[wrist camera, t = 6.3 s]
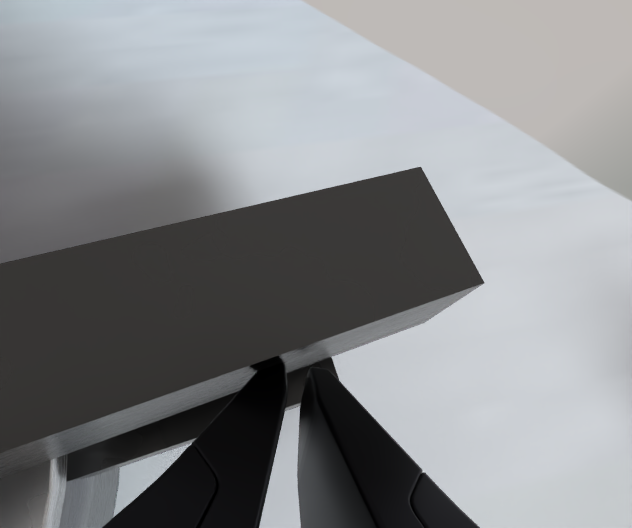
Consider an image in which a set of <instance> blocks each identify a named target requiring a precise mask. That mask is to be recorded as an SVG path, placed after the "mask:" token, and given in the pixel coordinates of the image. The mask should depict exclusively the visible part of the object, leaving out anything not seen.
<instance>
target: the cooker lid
mask: <svg viewBox="0 0 632 528" xmlns="http://www.w3.org/2000/svg"><path fill="white" fill-rule="evenodd" d="M482 284H484V281H483V279H482V278H481V276H480V274H479V272H478V270H477V268H476V267H475V265H474V263H473V261H472V259H471V257H470V256H469V254H468V252H467V250H466V248H465V247H464V245H463V243H462V241H461V239H460V237H459V236H458V234H457V232H456V230H455V228H454V226H453V225H452V223H451V221H450V219H449V217H448V216H447V214H446V212H445V210H444V208H443V206H442V205H441V203H440V201H439V199H438V197H437V195H436V194H435V192H434V190H433V188H432V186H431V185H430V183H429V181H428V179H427V177H426V175H425V174H424V172H423V170H422V168H421V167H418V168H413V169H409V170H405V171H400V172H396V173H392V174H387V175H383V176H379V177H374V178H370V179H366V180H361V181H357V182H353V183H348V184H344V185H340V186H335V187H331V188H327V189H322V190H318V191H314V192H309V193H305V194H301V195H296V196H292V197H288V198H283V199H279V200H275V201H270V202H266V203H262V204H257V205H253V206H249V207H244V208H240V209H236V210H231V211H227V212H223V213H218V214H214V215H210V216H205V217H201V218H197V219H192V220H188V221H184V222H179V223H175V224H171V225H166V226H162V227H158V228H153V229H149V230H145V231H140V232H136V233H132V234H127V235H123V236H119V237H114V238H110V239H106V240H101V241H97V242H92V243H88V244H84V245H79V246H75V247H71V248H66V249H62V250H58V251H53V252H49V253H45V254H40V255H36V256H32V257H27V258H23V259H19V260H14V261H10V262H6V263H1V264H0V528H59V525H60V519H61V514H62V508H63V502H64V496H65V490H66V476H67V454H69V453H71V452H74V451H77V450H79V449H82V448H85V447H88V446H90V445H93V444H96V443H98V442H101V441H104V440H107V439H109V438H112V437H115V436H117V435H120V434H123V433H126V432H128V431H131V430H134V429H137V428H139V427H142V426H145V425H147V424H150V423H153V422H156V421H158V420H161V419H164V418H166V417H169V416H172V415H175V414H177V413H180V412H183V411H185V410H188V409H191V408H194V407H196V406H199V405H202V404H205V403H207V402H210V401H213V400H215V399H218V398H221V397H224V396H226V395H229V394H232V393H234V392H237V391H240V390H241V389H242V388H243V386H244V385H245V384H246V383H247V382H248V381H249V380H250V379H251V378H252V377H253V375H254V374H255V373H256V372H257V371H258V370H261V369H265V368H270V367H274V366H278V365H282V364H285V365H286V373H289V372H292V371H294V370H297V369H300V368H302V367H305V366H308V365H311V364H313V363H316V362H319V361H322V360H324V359H327V358H330V357H332V356H335V355H338V354H341V353H343V352H346V351H349V350H351V349H354V348H357V347H360V346H362V345H365V344H368V343H370V342H373V341H376V340H379V339H381V338H384V337H387V336H390V335H392V334H395V333H398V332H400V331H403V330H406V329H409V328H411V327H414V326H417V325H419V324H422V323H425V322H426V321H428V320H429V319H431V318H432V317H434V316H435V315H437V314H438V313H440V312H441V311H443V310H444V309H446V308H447V307H449V306H450V305H452V304H453V303H455V302H456V301H458V300H460V299H461V298H463V297H464V296H466V295H467V294H469V293H470V292H472V291H473V290H475V289H476V288H478V287H479V286H481V285H482Z"/></svg>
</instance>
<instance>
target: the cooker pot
mask: <svg viewBox="0 0 632 528" xmlns="http://www.w3.org/2000/svg"><path fill="white" fill-rule="evenodd" d="M311 367H317V368H324V369H328V370H329V371H330V372H331V373H332V374H333V375H334V376H335V377H336V378H337V379H338V380H339V378H338V376H337V373H336V370H335V367H334V364H333V361H332V358H331V357H330V358H327V359H324V360H322V361H319V362H316V363H313V364H311V365H308V366H305V367H302V368H300V369H297V370H294V371H292V372H289V373H287V388H288V397H287V403H286V408H285V411H287V410H290V409H293V408H296V407H299V406H300V405H301V399H302V395H303V390H304V386H305V382H306V378H307V373H308V370H309V369H310V368H311ZM238 392H239V391H237V392H234V393H232V394H229V395H226V396H224V397H221V398H218V399H215V400H213V401H210V402H207V403H205V404H202V405H199V406H196V407H194V408H191V409H188V410H185V411H183V412H180V413H177V414H175V415H172V416H169V417H166V418H164V419H161V420H158V421H156V422H153V423H150V424H147V425H145V426H142V427H139V428H137V429H134V430H131V431H128V432H126V433H123V434H120V435H117V436H115V437H112V438H109V439H107V440H104V441H101V442H98V443H96V444H93V445H90V446H88V447H85V448H82V449H79V450H77V451H74V452H71V453H69V454H67V476H66V490H65V496H64V502H63V508H62V514H61V519H60V525H59V528H102V527H103V526H104V525H105V524H106V523H108V522H109V521H110V520H111V519H112V518H113V514H114V508H115V503H116V497H117V491H118V485H119V467H122V466H125V465H128V464H131V463H134V462H136V461H139V460H142V459H145V458H148V457H151V456H154V455H157V454H160V453H163V452H166V451H169V450H172V449H175V448H178V447H181V446H184V445H187V444H190V443H193V441H194V440H195V439H196V438H197V437H198V436H199V435H200V434H201V433H202V432H203V430H204V429H205V428H206V427H207V426H208V425H209V424H210V423H211V422H212V421H213V419H214V418H215V417H216V416H217V415H218V414H219V413H220V412H221V411H222V410H223V408H224V407H225V406H226V405H227V404H228V403H229V402H230V401H231V400H232V399H233V397H234V396H235V395H236V394H237V393H238Z"/></svg>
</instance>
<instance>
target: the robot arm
mask: <svg viewBox="0 0 632 528" xmlns="http://www.w3.org/2000/svg"><path fill="white" fill-rule="evenodd" d="M287 397H288V388H287V373H286V365H285V364H282V365H278V366H274V367H270V368H265V369H261V370H258V371H257V372H256V373H255V374H254V375H253V377H252V378H251V379H250V380H249V381H248V382H247V383H246V384H245V385H244V386H243V388H242V389H241V390H240V391H239V392H238V393H237V394H236V395H235V396H234V397H233V399H232V400H231V401H230V402H229V403H228V404H227V405H226V406H225V407H224V408H223V410H222V411H221V412H220V413H219V414H218V415H217V416H216V417H215V418H214V419H213V421H212V422H211V423H210V424H209V425H208V426H207V427H206V428H205V429H204V430H203V432H202V433H201V434H200V435H199V436H198V437H197V438H196V439H195V440H194V441H193V443H192V444H191V445H190V446H189V447H188V448H187V449H186V450H185V451H184V452H183V453H182V454H181V456H180V457H179V458H178V459H177V460H176V461H175V462H174V463H173V464H172V465H171V466H170V467H169V468H168V469H167V470H166V471H165V472H164V473H163V474H162V475H161V476H160V477H159V478H158V479H157V480H156V481H155V482H154V483H153V484H152V485H150V486H149V487H148V488H147V489H146V490H145V491H144V492H143V493H141V494H140V495H139V496H138V497H137V498H136V499H135V500H134V501H132V502H131V503H130V504H129V505H128V506H126V507H125V508H124V509H123V510H122V511H121V512H119V513H118V514H117V515H116V516H115V517H114V518H112V519H111V520H110V521H109V522H108V523H106V524H105V525H104V526H103V527H102V528H259V525H260V521H261V516H262V512H263V507H264V503H265V498H266V494H267V489H268V485H269V480H270V476H271V471H272V466H273V462H274V457H275V453H276V448H277V444H278V439H279V435H280V430H281V426H282V421H283V417H284V412H285V408H286V403H287ZM297 477H298V495H299V507H300V520H301V528H480V527H479V526H477V525H476V524H475V523H474V522H473V521H472V520H471V519H470V518H469V517H468V516H467V515H466V514H465V513H464V512H463V511H462V510H461V509H460V508H459V507H458V506H457V505H456V504H455V503H454V502H453V501H452V500H451V499H450V498H449V497H448V496H447V495H446V494H445V493H444V492H443V491H442V490H441V489H440V488H439V487H438V486H437V485H436V484H435V483H434V482H433V481H432V479H431V478H430V477H429V476H428V475H427V474H426V473H422V469H421V468H420V467H419V466H418V465H417V464H416V463H415V461H414V460H413V459H412V458H411V457H410V456H409V455H408V454H407V453H406V452H405V451H404V450H403V449H402V448H401V447H400V445H399V444H398V443H397V442H396V441H395V440H394V439H393V438H392V437H391V436H390V435H389V434H388V433H387V432H386V430H385V429H384V428H383V427H382V426H381V425H380V424H379V423H378V422H377V421H376V420H375V419H374V418H373V417H372V416H371V414H370V413H369V412H368V411H367V410H366V409H365V408H364V407H363V406H362V405H361V404H360V403H359V402H358V401H357V399H356V398H355V397H354V396H353V395H352V394H351V393H350V392H349V391H348V390H347V389H346V388H345V387H344V386H343V385H342V383H341V382H340V381H339V380H338V379H337V378H336V377H335V376H334V375H333V374H332V373H331V372H330V371H329V370H328V369H324V368H317V367H311V368H310V369H309V370H308V373H307V378H306V382H305V386H304V390H303V395H302V399H301V405H300V422H299V444H298V471H297Z"/></svg>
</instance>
